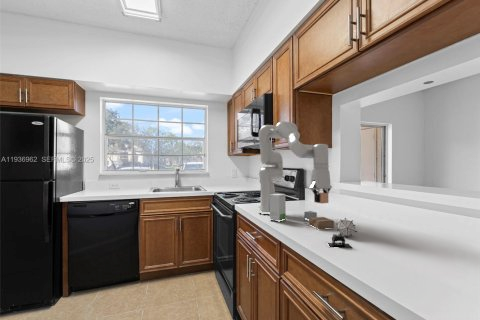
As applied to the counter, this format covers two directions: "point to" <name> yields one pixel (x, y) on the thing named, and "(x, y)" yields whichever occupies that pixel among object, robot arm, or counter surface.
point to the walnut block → (321, 222)
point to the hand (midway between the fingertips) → (321, 201)
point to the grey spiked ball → (346, 227)
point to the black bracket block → (340, 245)
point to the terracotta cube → (322, 198)
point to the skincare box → (277, 206)
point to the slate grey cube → (310, 214)
